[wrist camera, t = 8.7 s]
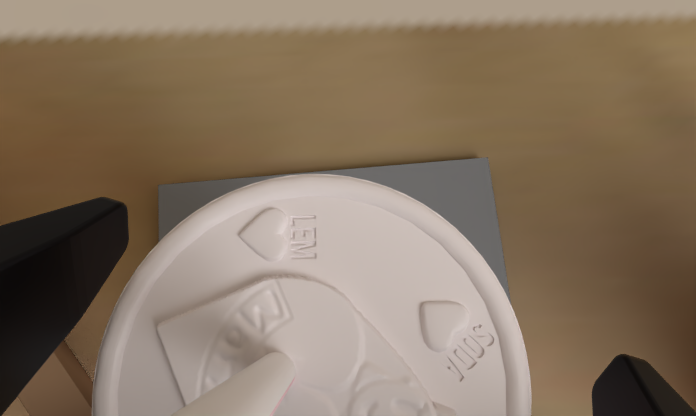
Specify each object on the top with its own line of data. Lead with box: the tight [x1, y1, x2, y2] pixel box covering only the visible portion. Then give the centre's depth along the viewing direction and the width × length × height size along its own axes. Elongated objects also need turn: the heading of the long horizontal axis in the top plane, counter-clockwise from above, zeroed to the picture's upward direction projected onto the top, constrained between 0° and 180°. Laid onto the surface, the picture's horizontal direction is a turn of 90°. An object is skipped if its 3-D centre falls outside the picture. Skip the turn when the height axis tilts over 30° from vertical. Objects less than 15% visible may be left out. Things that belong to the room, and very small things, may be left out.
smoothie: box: [92, 174, 532, 416], centre depth 9 cm, size 6×6×14 cm
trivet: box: [158, 157, 511, 304], centre depth 17 cm, size 12×12×1 cm
